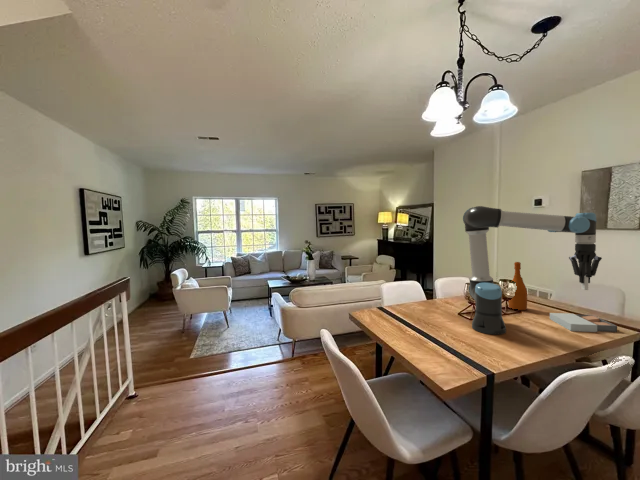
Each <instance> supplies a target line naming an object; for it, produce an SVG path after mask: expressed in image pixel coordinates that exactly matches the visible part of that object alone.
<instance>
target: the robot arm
mask: <svg viewBox="0 0 640 480" xmlns="http://www.w3.org/2000/svg"><path fill="white" fill-rule="evenodd" d="M462 220H463V223H464V228H465V229H464V231H465V233H466V234H467V235H468V241H469V242H468V244H469V252H470V253H469V255H470V267H471V276H470V277H469V286H468V292H469V296H470V297H471V298H472V299H473V300H474V301H475V314H474V317H473V318H472V321H471V328H472V329H473V330H474V331H476V332H479V333H482V334H488V335H498V336H499V335H504V334H506V333H507V326H506V324H505V321H504V319H503V314H502V312H503V311H502V309H503V307H502V306H503V305H502V302H503V299H502V298H503V296H502V295H503V291H502V287H501V286H500V285H498V284H497V283H494V278H493V277H492V276H491V275H490V266H489V265H490V264H489V255H488V254H489V253H488V241H487V233H488V232H489V231H490V228H499V227H508V228H519V229H531V230H539V231H540V230H543V231H547V232H549V233H572V234H573V233H574V235H575V236H574V237H575V238H574V243H575V244H574V250H575V252H574V255H572V256H569V257H568V260H570V262H571V266H572V270H573V273H574V275H575V276H578V279H579V280H578V281H579V283H580V289H581V290H583V291H589V284H590V283H591V278H592V277H595V276H596V273H597V270H598V267H599V264H600V262H601V261H602V259H603V258H602V256H601V257H600V256H598V255H597V253H596V251H597V244H596V242H597V240H596V239H597V237H596V236H597V214H596V213H595V212H581V213H580V212H578V213H576V214H575V215H574V216H568V215H567V216H566V215H559V214H558V215H557V214H544V213H532V212H519V211H508V210H507V211H506V210H505V211H504V210H502V209H501V208H493V207H487V206H483V205H477V206H474V207H473V206H472V207H469V208H468V209H467V210H466V211H464V214H463V216H462Z"/></svg>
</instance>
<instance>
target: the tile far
mask: <svg viewBox="0 0 640 480" xmlns="http://www.w3.org/2000/svg"><path fill="white" fill-rule="evenodd" d="M594 316H595V315H593V316H584V317H581V318H583V319H585V320H587V321H590V322H592V323H593V322H600V320H599V318H600V317H598V316H595V317H594ZM597 317H598V318H597Z"/></svg>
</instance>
